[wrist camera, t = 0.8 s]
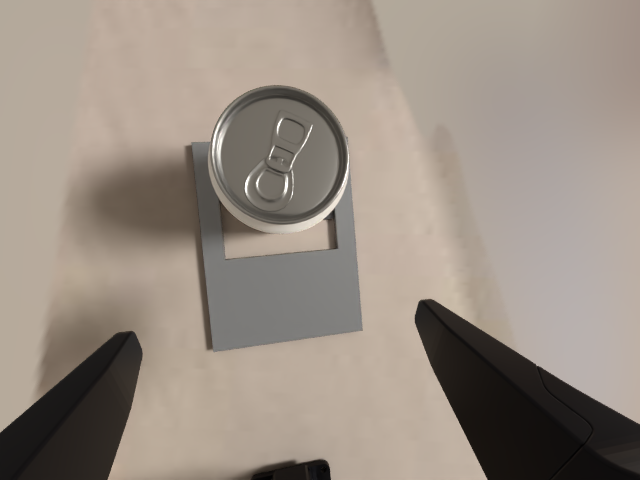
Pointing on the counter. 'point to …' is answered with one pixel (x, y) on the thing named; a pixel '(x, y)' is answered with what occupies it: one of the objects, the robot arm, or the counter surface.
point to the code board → (276, 279)
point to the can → (278, 159)
